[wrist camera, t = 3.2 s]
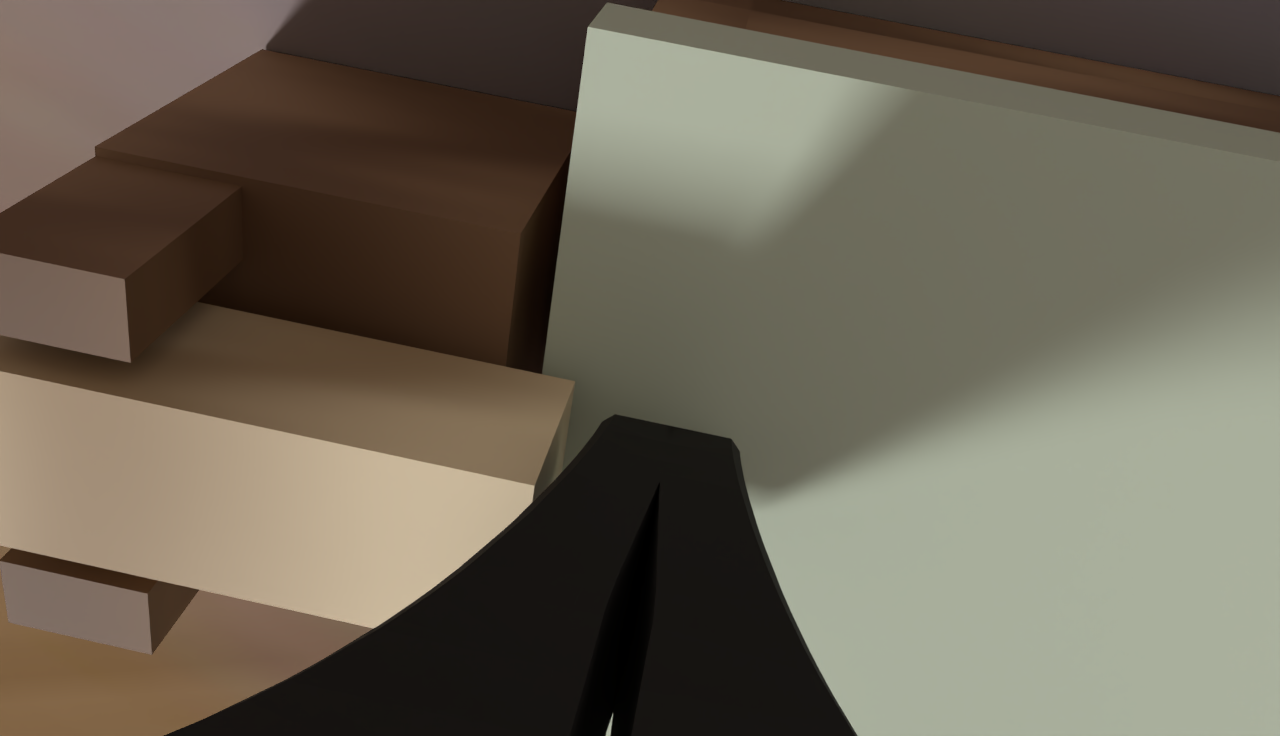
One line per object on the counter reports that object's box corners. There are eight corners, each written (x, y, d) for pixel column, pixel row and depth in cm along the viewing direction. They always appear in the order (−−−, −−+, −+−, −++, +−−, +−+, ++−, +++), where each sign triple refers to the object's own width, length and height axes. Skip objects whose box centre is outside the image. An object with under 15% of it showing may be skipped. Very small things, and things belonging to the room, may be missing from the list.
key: (575, 380, 11) (535, 485, 10) (551, 541, 12) (510, 659, 11) (-104, 238, 12) (-247, 317, 10) (-75, 404, 13) (-201, 500, 11)
